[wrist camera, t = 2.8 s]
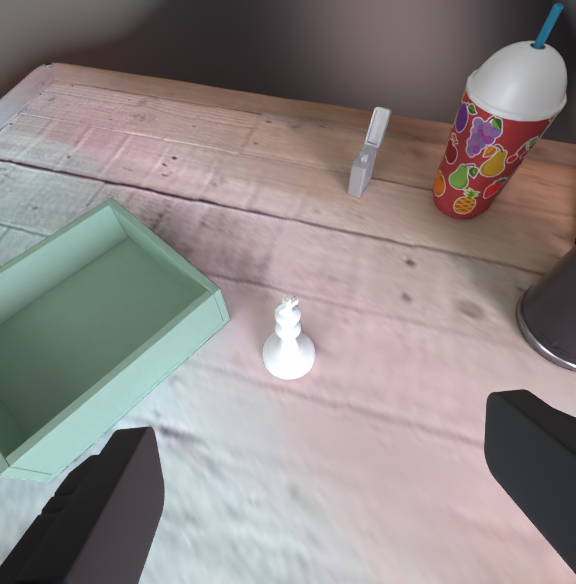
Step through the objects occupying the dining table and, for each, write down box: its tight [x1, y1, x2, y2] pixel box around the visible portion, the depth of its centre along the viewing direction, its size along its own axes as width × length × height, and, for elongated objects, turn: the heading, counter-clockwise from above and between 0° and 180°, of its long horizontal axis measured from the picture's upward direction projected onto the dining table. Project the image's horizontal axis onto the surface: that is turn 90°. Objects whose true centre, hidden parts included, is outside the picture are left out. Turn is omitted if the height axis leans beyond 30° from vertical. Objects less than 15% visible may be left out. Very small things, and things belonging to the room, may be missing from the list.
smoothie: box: [432, 3, 567, 219], centre depth 36 cm, size 8×8×20 cm
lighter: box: [347, 106, 391, 198], centre depth 43 cm, size 7×2×8 cm, turn 153°
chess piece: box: [262, 296, 315, 379], centre depth 30 cm, size 5×5×10 cm
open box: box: [0, 198, 230, 483], centre depth 33 cm, size 20×17×6 cm
